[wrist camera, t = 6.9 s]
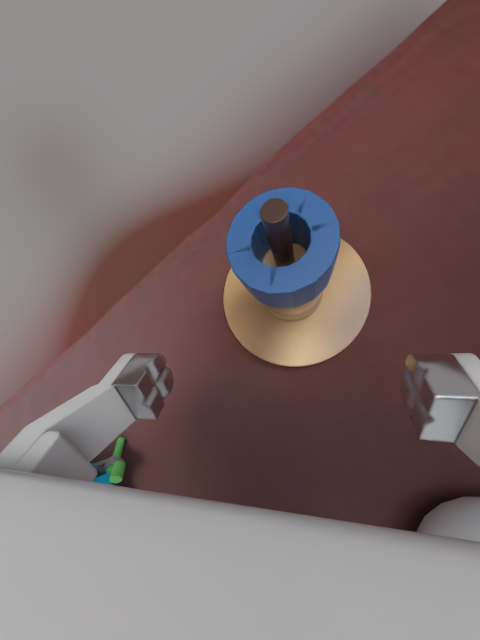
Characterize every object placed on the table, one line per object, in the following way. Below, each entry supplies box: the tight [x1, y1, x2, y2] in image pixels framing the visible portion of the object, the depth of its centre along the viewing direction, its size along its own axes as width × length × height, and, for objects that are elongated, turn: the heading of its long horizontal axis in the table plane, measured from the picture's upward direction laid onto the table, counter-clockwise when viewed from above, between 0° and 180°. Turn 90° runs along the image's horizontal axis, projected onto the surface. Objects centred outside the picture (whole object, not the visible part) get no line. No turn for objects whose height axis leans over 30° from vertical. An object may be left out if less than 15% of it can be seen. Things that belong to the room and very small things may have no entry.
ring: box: [226, 187, 341, 309], centre depth 15 cm, size 6×6×4 cm
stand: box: [224, 198, 371, 367], centre depth 17 cm, size 13×13×14 cm
